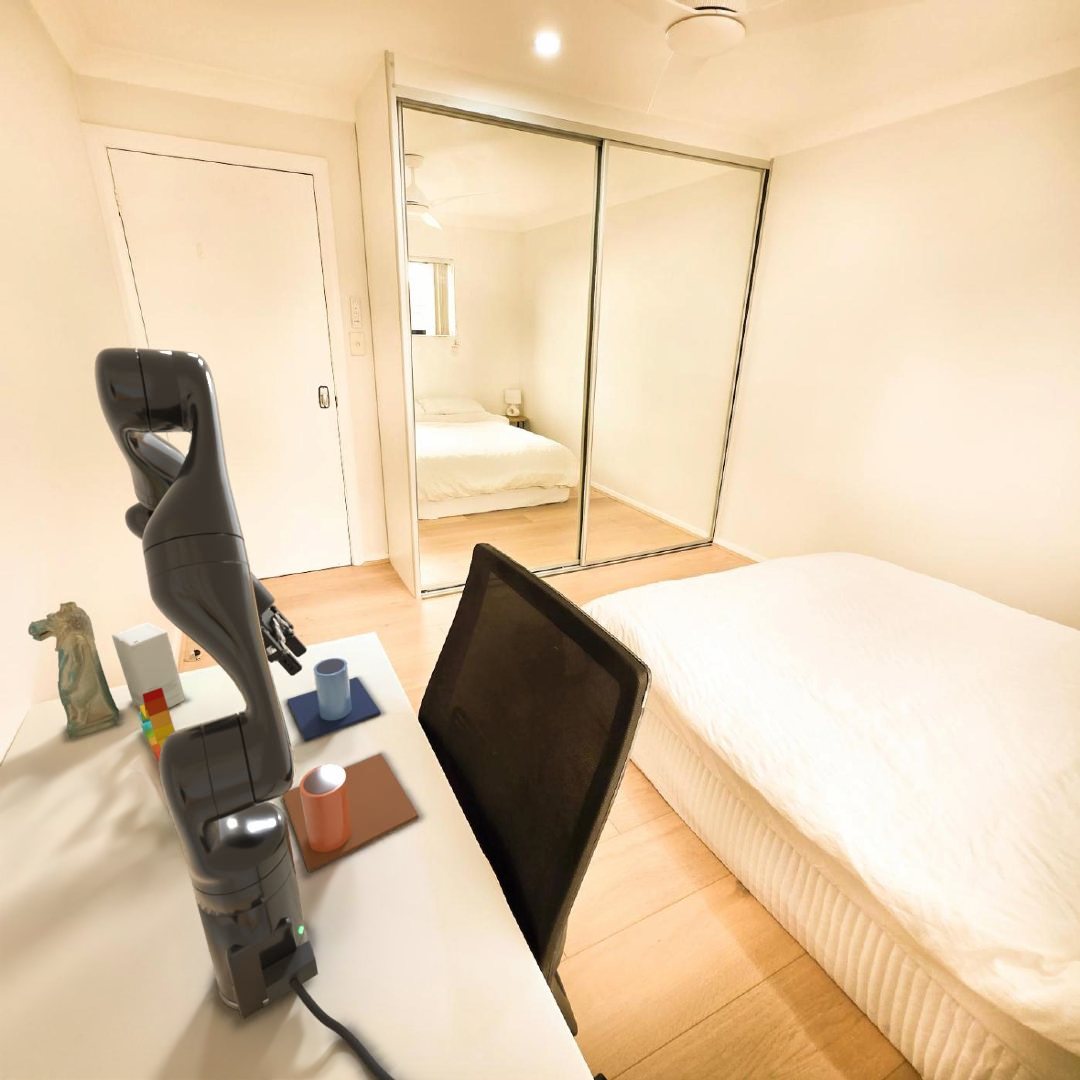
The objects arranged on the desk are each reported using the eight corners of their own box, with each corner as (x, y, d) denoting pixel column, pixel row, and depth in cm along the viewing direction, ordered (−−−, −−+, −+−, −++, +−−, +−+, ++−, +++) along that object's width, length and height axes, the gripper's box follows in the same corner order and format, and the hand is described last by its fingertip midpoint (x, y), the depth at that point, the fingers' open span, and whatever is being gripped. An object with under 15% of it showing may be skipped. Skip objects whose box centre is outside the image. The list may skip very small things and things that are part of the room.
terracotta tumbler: (357, 838, 76) (351, 784, 73) (314, 860, 73) (305, 804, 70) (344, 811, 81) (338, 758, 78) (303, 829, 78) (294, 775, 74)
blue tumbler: (358, 708, 104) (354, 664, 101) (332, 724, 99) (326, 679, 96) (339, 697, 107) (334, 654, 104) (312, 712, 102) (306, 668, 99)
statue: (60, 727, 97) (20, 605, 89) (117, 707, 103) (84, 591, 95) (65, 746, 93) (23, 619, 85) (124, 724, 99) (90, 603, 90)
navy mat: (380, 713, 104) (380, 711, 103) (305, 741, 96) (304, 739, 96) (357, 679, 114) (357, 676, 114) (287, 701, 106) (287, 699, 106)
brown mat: (418, 817, 81) (418, 814, 81) (308, 872, 72) (308, 869, 72) (381, 755, 93) (380, 752, 93) (282, 796, 84) (282, 793, 84)
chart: (218, 821, 79) (200, 739, 74) (194, 834, 77) (173, 751, 72) (164, 725, 99) (146, 655, 94) (143, 733, 97) (124, 662, 92)
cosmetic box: (186, 700, 106) (170, 632, 100) (149, 718, 100) (130, 646, 95) (165, 686, 110) (149, 619, 105) (128, 702, 105) (109, 633, 99)
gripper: (249, 590, 84) (315, 665, 89) (264, 571, 97) (321, 636, 102) (206, 619, 82) (276, 693, 88) (227, 595, 96) (286, 660, 101)
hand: (300, 662), depth 95 cm, fingers open, 8 cm apart
